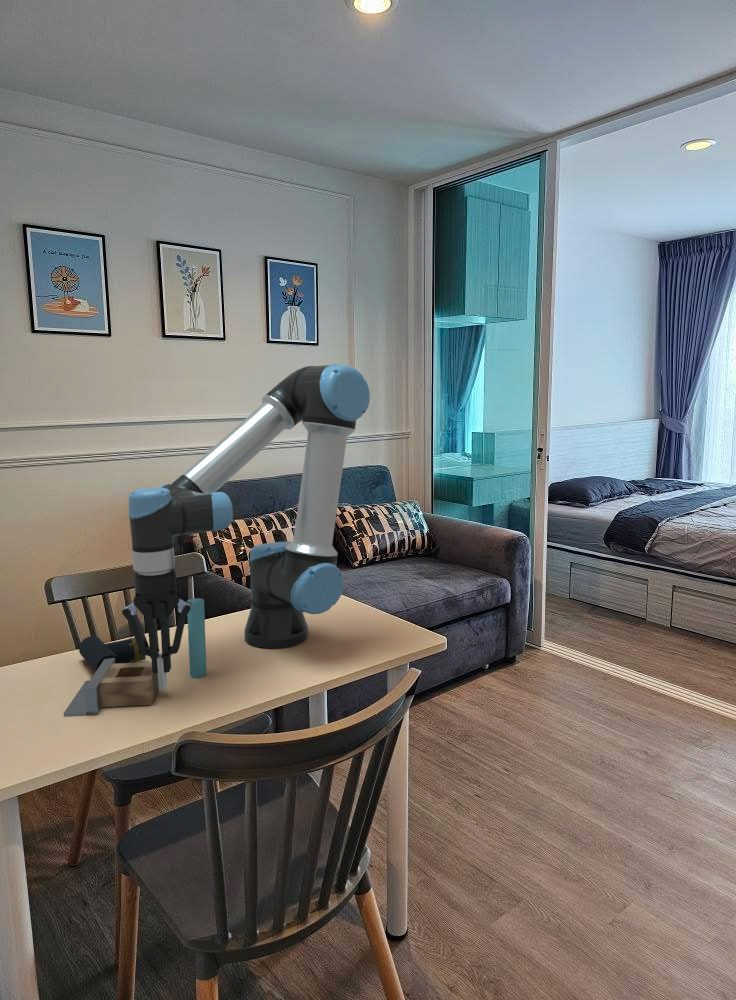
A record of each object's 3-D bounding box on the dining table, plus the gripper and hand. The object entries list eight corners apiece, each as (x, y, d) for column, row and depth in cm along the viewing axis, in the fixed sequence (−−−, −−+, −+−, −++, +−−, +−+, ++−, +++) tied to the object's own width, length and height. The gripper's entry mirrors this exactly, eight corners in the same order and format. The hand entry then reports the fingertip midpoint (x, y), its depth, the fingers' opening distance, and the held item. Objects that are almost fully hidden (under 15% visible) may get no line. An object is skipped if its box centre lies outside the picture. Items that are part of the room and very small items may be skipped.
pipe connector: (131, 628, 155) (152, 645, 143) (132, 650, 156) (153, 669, 143) (78, 637, 148) (95, 657, 136) (79, 661, 149) (97, 682, 137)
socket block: (159, 684, 137) (158, 661, 136) (151, 704, 128) (149, 680, 127) (113, 686, 136) (112, 663, 135) (101, 707, 127) (99, 682, 126)
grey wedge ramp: (116, 682, 138) (115, 657, 137) (98, 714, 124) (96, 687, 124) (85, 683, 137) (84, 659, 137) (63, 716, 124) (61, 689, 123)
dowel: (207, 670, 144) (204, 598, 141) (205, 677, 141) (202, 603, 138) (191, 671, 143) (188, 598, 141) (188, 678, 140) (185, 603, 138)
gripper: (191, 563, 133) (198, 677, 137) (124, 566, 131) (134, 682, 135) (185, 573, 125) (193, 693, 129) (115, 577, 124) (125, 698, 128)
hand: (163, 687), depth 132 cm, fingers closed
